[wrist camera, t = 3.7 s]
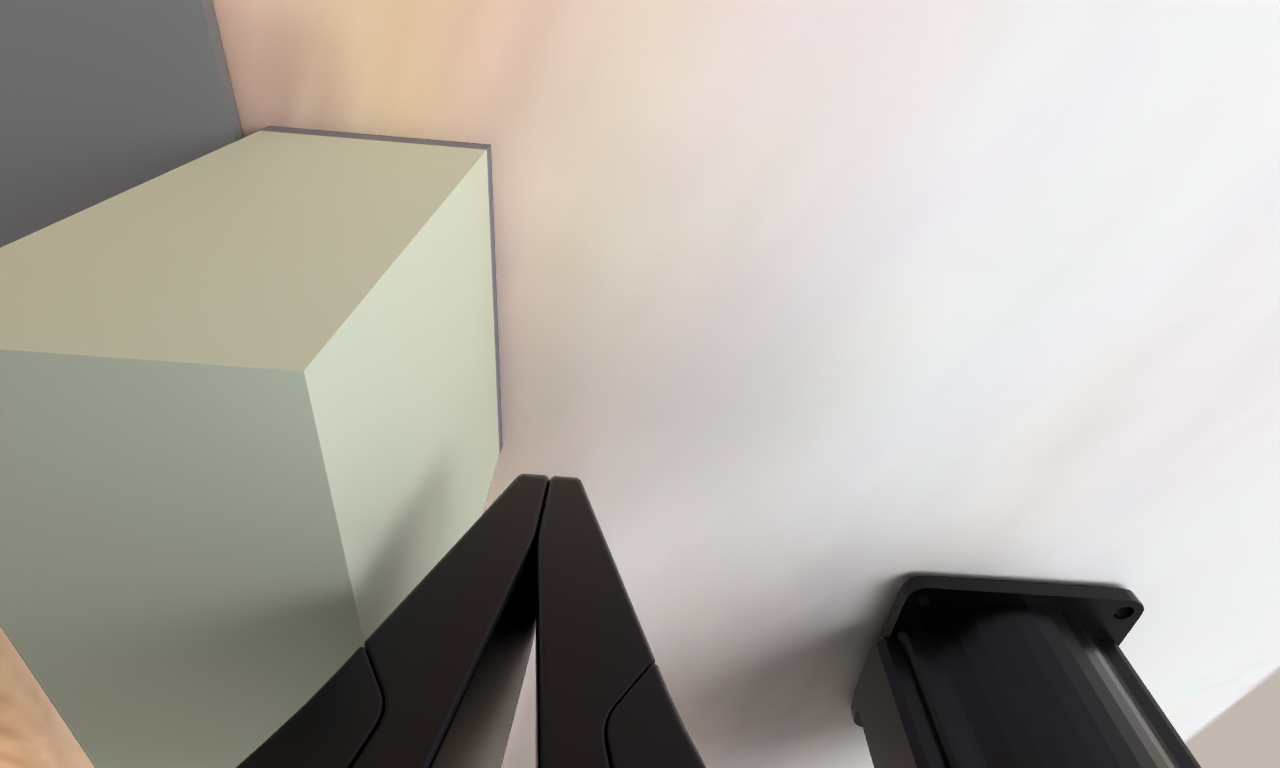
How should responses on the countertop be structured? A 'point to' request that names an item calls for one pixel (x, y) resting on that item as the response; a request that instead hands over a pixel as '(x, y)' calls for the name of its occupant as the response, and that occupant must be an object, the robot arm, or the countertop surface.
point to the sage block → (241, 430)
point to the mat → (104, 101)
